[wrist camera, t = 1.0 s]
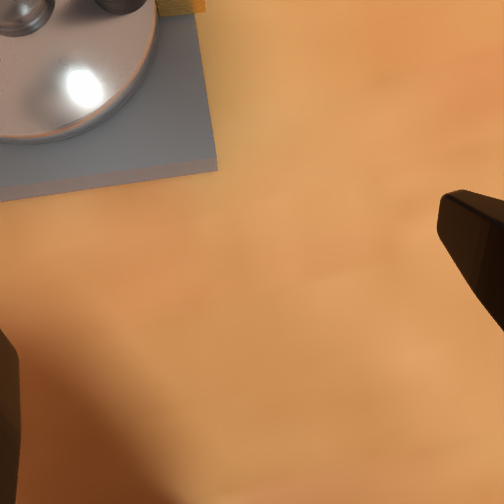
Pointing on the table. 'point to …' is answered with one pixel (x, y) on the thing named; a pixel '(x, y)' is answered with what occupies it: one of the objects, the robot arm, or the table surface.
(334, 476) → the table surface
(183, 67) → the post base
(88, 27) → the grey round part
